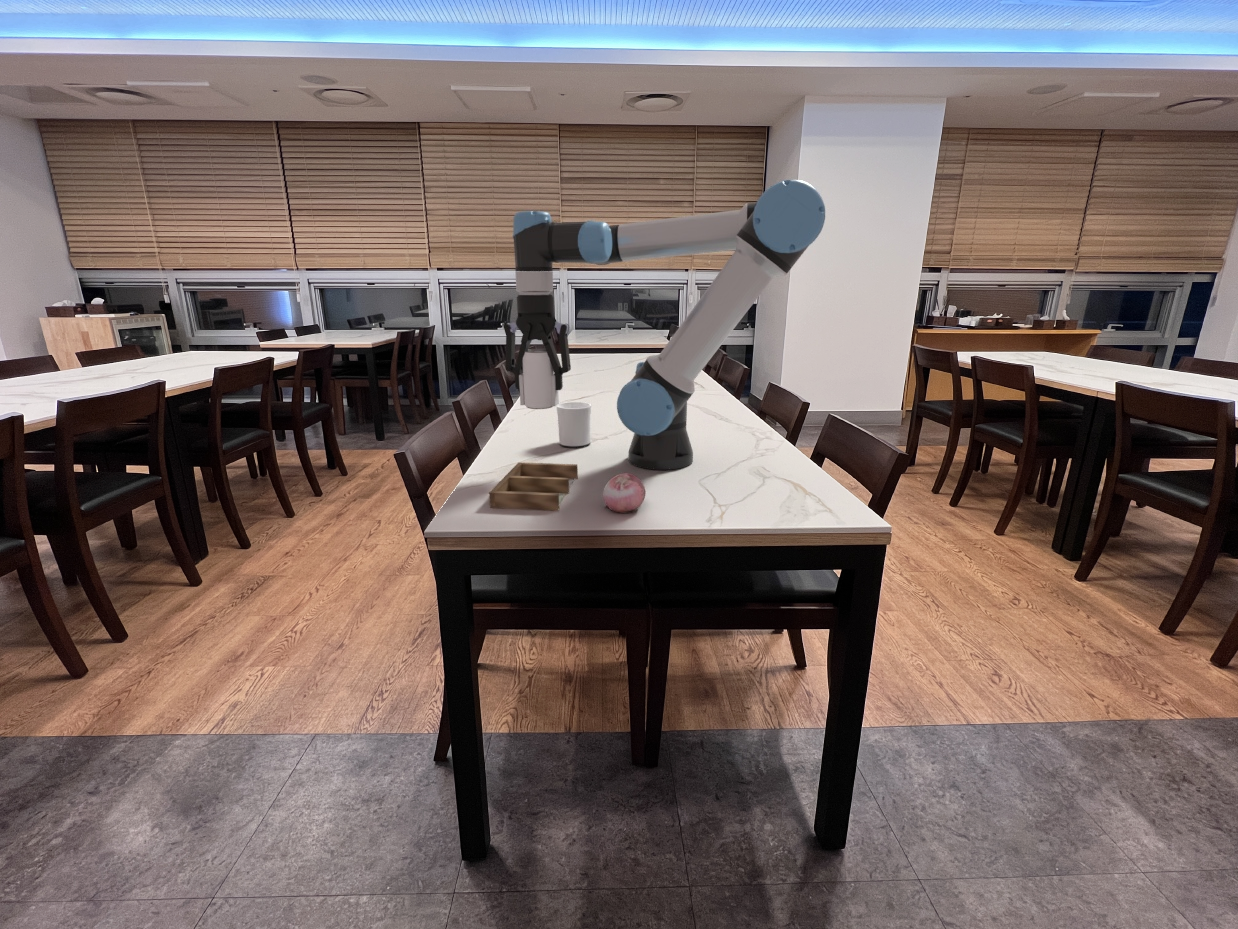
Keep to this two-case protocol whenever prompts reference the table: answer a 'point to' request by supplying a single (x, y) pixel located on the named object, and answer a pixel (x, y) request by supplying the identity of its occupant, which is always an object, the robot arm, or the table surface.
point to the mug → (574, 424)
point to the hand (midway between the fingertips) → (539, 404)
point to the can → (537, 379)
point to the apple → (624, 493)
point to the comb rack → (534, 486)
